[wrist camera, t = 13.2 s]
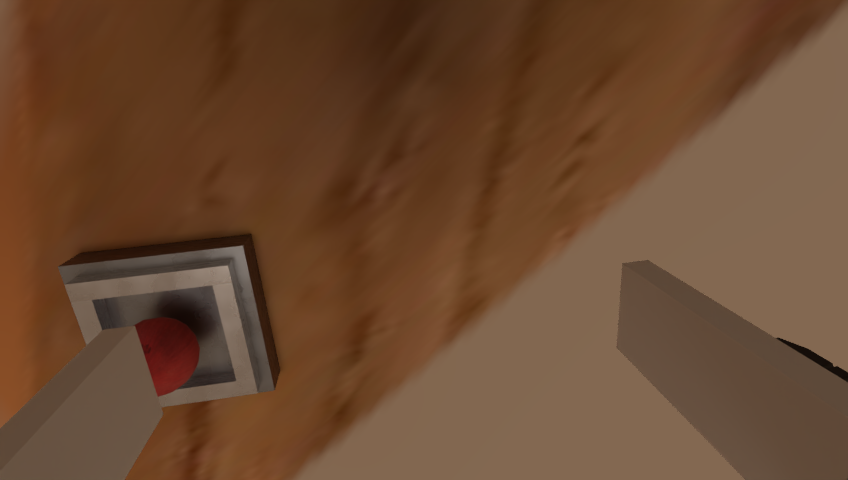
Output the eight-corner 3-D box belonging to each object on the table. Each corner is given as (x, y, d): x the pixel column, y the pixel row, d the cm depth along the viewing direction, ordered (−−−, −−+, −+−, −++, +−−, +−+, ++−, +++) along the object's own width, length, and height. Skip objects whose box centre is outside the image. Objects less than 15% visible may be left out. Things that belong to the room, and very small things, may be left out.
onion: (126, 343, 39) (70, 406, 31) (155, 288, 38) (105, 340, 30) (193, 371, 40) (155, 437, 33) (223, 320, 39) (191, 376, 32)
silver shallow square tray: (79, 253, 39) (45, 274, 35) (251, 234, 40) (238, 252, 36) (127, 392, 43) (102, 425, 39) (280, 370, 45) (271, 400, 41)
